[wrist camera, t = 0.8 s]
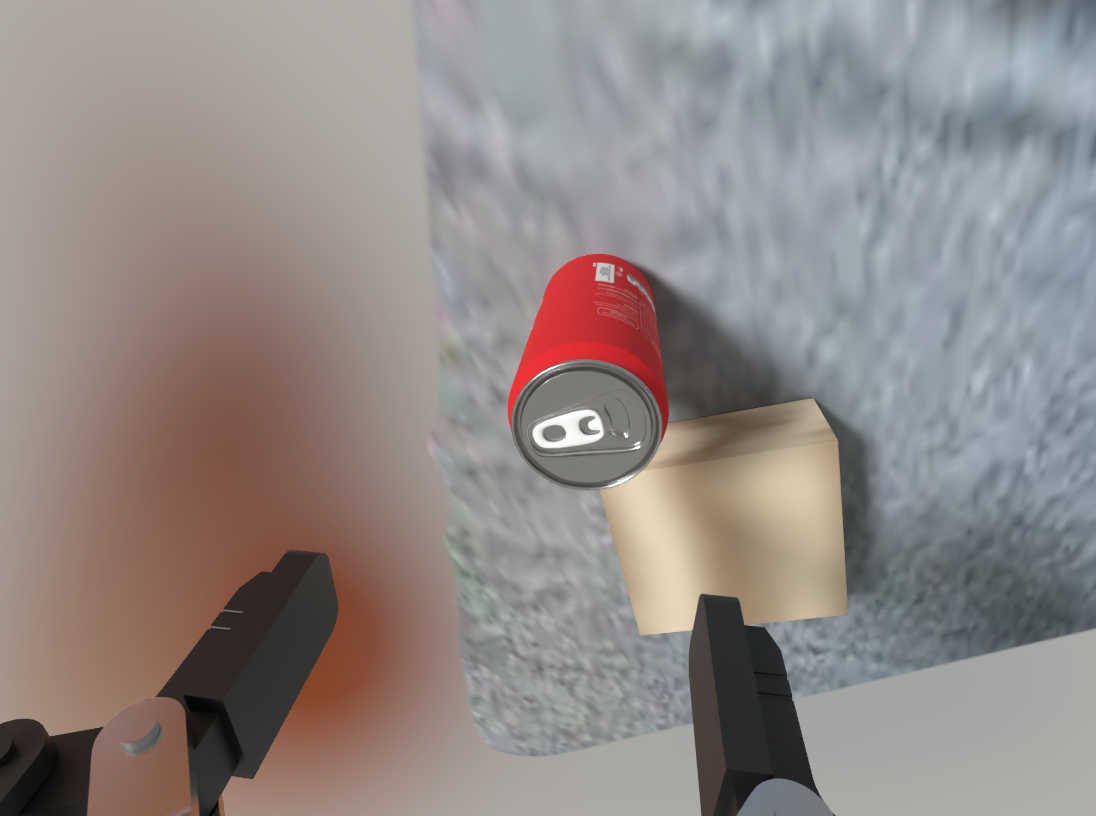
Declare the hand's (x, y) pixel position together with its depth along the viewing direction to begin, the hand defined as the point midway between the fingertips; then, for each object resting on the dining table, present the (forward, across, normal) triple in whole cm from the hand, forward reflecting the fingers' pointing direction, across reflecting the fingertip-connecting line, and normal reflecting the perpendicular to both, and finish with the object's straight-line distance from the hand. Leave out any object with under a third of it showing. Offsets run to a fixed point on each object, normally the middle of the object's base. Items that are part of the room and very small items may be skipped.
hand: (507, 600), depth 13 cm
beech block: (+19, -8, +11) cm, 24 cm away
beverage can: (+19, -1, 0) cm, 19 cm away
